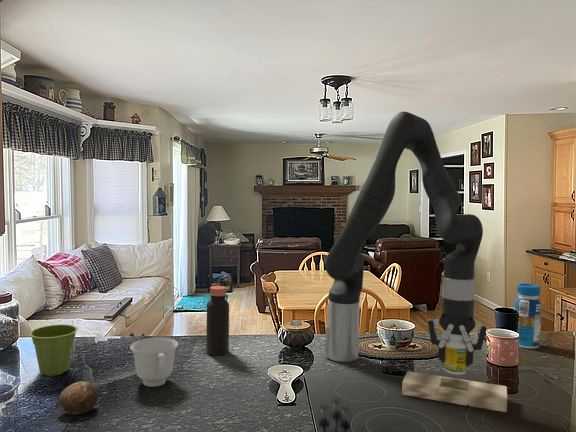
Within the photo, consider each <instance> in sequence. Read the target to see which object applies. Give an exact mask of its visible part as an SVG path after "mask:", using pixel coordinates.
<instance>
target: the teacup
mask: <svg viewBox="0 0 576 432" xmlns="http://www.w3.org/2000/svg"><path fill="white" fill-rule="evenodd" d="M178 346H179V342H178V341H177V340H175V339H173V338H169V337H150V338H149V337H148V338H143V339H138V340H136V341H134V342H133V343H132V344H131V345H130V346H129V349H130V350H131V351H132V354H133V360H134V368H135V372H136V375H137V377H138V378H140V379H141V380H142V381H143V382H142V384H143V385H144V386H145V387H150V388H152V387H153V388H154V387H155V388H156V387H160V386H163V385H164V384H165V383H166V381H167V378H168V377H169V376H170V375H171V374H172V371H173V369H174V364H175V354H176V350H177V347H178Z"/></svg>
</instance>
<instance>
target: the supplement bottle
mask: <svg viewBox="0 0 576 432" xmlns="http://www.w3.org/2000/svg"><path fill="white" fill-rule="evenodd" d="M444 346H445V355H444V363H443V367H444V368H443V369H444V371H445V373H448V374H450V375H451V374H452V375H458V376H459V375H461V376H462V375H464V374H465V375H466V373H467V367H468V366H467V349H468V348H467V345H466V343H465V341H464V338H463V335H457V334H450V335H449V337H448V339H447V341H446V343H445V345H444Z"/></svg>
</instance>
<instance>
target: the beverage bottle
mask: <svg viewBox="0 0 576 432" xmlns="http://www.w3.org/2000/svg"><path fill="white" fill-rule="evenodd" d="M516 287H517V288H516V289H517V290H516V293H517V295H518V297H516V299H515V301H514V304H513V306H514V309H513V311H514V310H517V312H518V313H519V318H518V319H519V322H518V332H519V346H518V347H519V348H523V349H529V350H530V349H532V350H533V349H538V348H539V347H540V346H541V345H540V344H541V327H542V317H543V314H542V311H541V310H542V309H543V307H542V302H541V301H540V299H539V297H540V296H541V286H540V285H538V284H535V283H534V284H532V283H526V282H525V283H518V284H517V286H516Z"/></svg>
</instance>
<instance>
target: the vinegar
mask: <svg viewBox="0 0 576 432" xmlns="http://www.w3.org/2000/svg"><path fill="white" fill-rule="evenodd" d="M209 297H210V300H208V302H206V336H205V337H206V339H205V341H206V342H205V343H206V346H205V348H206V351H205V352H206V354H207V355H210V356H217V357H218V356H224V355H226V354H228V353H229V351H230V350H229V349H230V347H229V346H230V303H229V302H228V300H227V299H226V297H227V287H226V286H224V285H223V286H222V285H215V286H213V285H212V286H210V288H209Z"/></svg>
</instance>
